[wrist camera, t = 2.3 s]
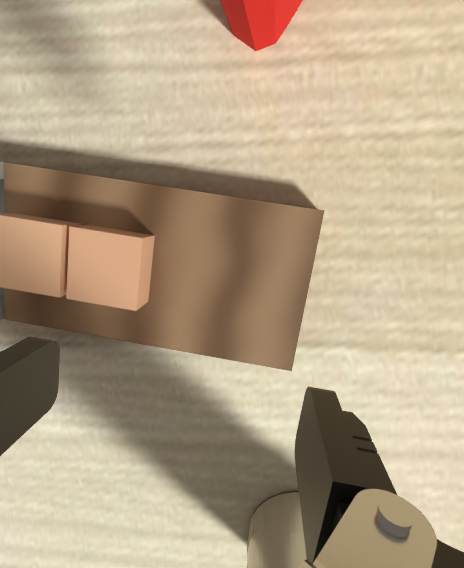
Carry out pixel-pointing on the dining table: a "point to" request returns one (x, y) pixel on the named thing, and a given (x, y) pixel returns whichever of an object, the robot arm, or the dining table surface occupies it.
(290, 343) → the board
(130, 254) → the tile
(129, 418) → the dining table surface
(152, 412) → the dining table surface
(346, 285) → the dining table surface
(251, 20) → the french fries
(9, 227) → the tile
